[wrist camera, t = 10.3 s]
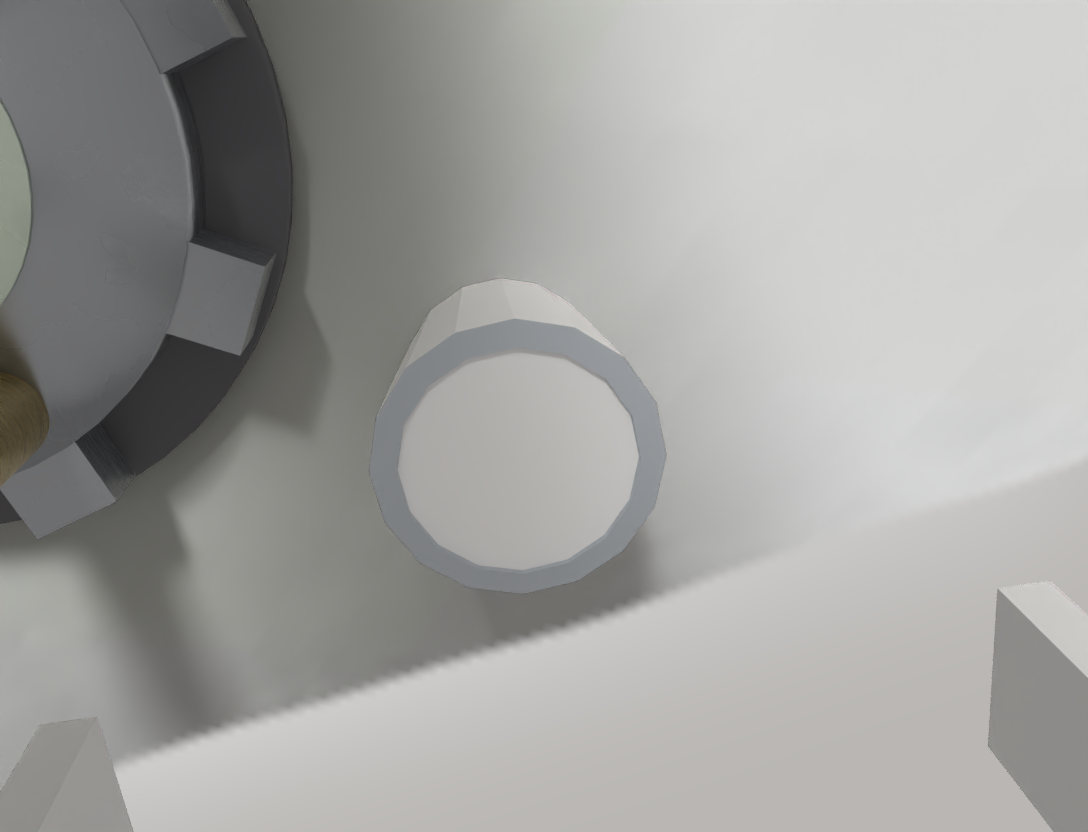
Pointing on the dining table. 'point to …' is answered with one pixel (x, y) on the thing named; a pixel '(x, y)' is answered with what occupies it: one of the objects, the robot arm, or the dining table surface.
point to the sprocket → (103, 235)
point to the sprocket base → (232, 210)
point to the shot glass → (515, 442)
